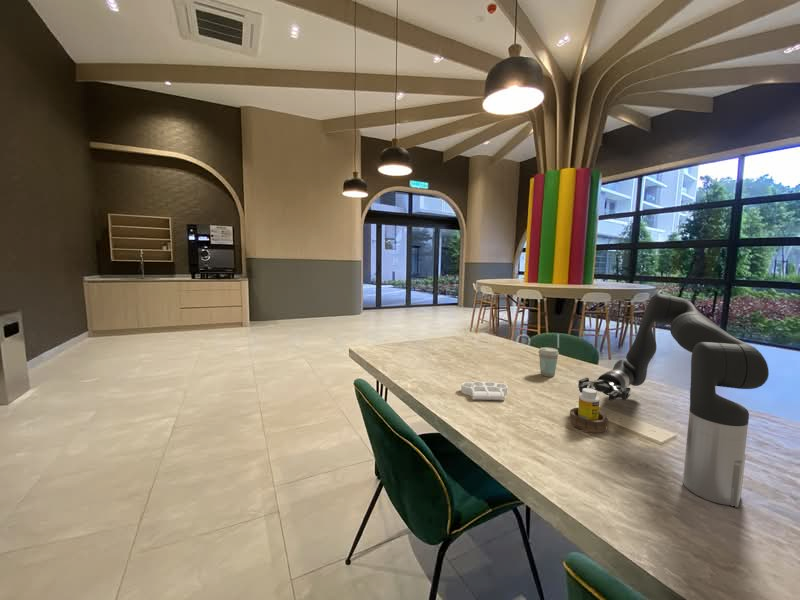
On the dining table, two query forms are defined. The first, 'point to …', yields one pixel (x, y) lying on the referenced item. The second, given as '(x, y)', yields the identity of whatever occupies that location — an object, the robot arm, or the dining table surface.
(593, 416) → the supplement bottle
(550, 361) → the coffee cup
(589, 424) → the brown wooden bowl
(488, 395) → the white brass knuckles
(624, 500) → the dining table surface
